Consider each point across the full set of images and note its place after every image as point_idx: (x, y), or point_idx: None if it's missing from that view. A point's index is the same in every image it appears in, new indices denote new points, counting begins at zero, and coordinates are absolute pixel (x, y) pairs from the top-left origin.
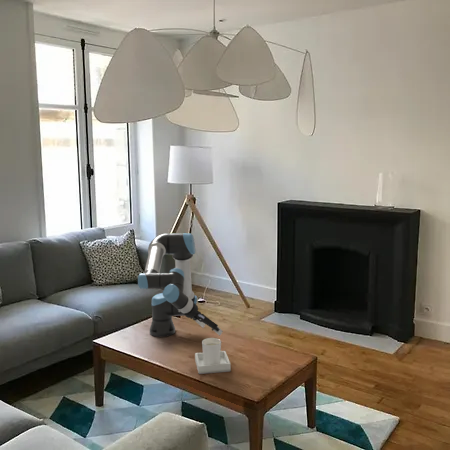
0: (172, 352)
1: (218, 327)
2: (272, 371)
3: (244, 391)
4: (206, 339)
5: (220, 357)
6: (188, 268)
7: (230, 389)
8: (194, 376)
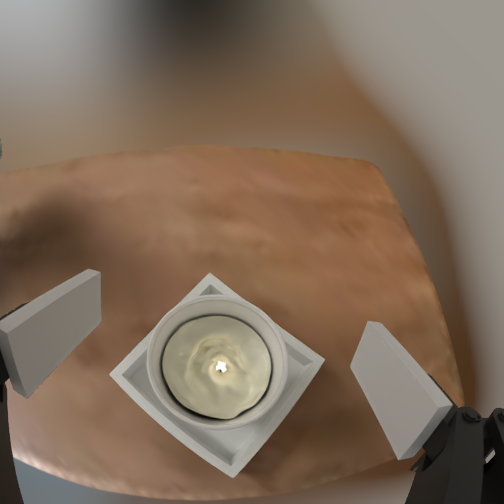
0: None
1: (416, 365)
2: (392, 270)
3: None
4: (154, 343)
5: None
6: None
7: None
8: (232, 492)
